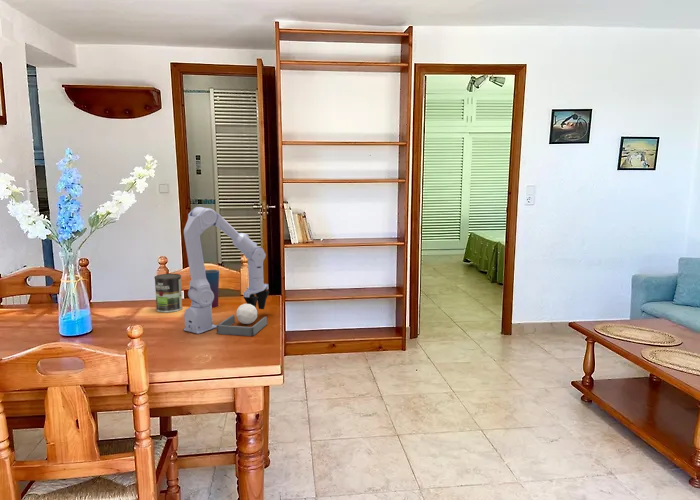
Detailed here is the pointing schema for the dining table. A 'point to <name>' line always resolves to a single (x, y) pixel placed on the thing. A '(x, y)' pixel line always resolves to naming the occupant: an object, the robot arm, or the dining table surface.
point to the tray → (239, 327)
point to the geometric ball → (246, 313)
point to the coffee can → (168, 292)
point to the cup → (213, 284)
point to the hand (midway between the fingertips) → (257, 311)
